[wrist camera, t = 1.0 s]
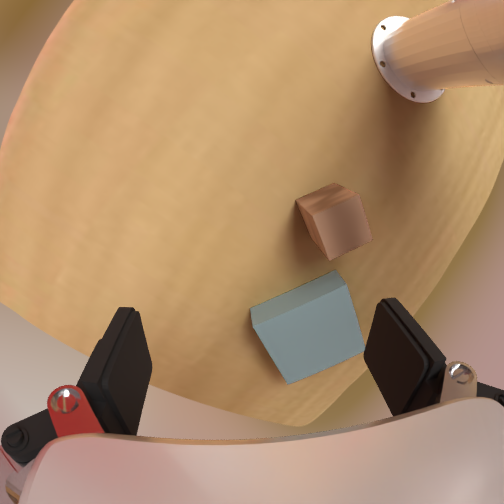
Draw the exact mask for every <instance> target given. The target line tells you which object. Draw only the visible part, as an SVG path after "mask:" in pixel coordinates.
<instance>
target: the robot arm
mask: <svg viewBox="0 0 504 504" xmlns="http://www.w3.org/2000/svg"><path fill="white" fill-rule="evenodd" d="M380 26H383V27H384V28H385V31H384V30H382V29H381V27H380ZM371 48H372V54H373V58H374V61H375V63H376V66H377V68H378V70H379V72H380V73H381V75H382V76H383V78H384V79H385V81H386V82H387V83H388V84H389V85H390V86H391V87H392V88H393V89H394V90H395V91H396V92H397V93H398V94H400V95H401V96H403V97H405V98H406V99H408V100H411V101H414V102H418V103H428V102H432V101H434V100H436V99H438V98H439V97H440V96H441V95H442V94H443V92H444V90H445V89H448V88H459V87H472V86H492V85H504V0H450V1H448V2H445V3H443V4H441V5H438V6H436V7H434V8H432V9H430V10H427V11H425V12H423V13H421V14H419V15H417V16H415V17H413V18H411V19H409V18H407V17H402V16H391V17H387V18H385V19H383V20H382V21H380V22H379V23H378V24H377V25H376V27H375V29H374V31H373V34H372V39H371ZM380 61H382V62H383V63H384V65H385V66H384V67H382V66H381V65H380ZM440 89H441V90H440ZM411 92H413V94H414V98H412V97H411ZM364 360H365V362H366V364H367V366H368V368H369V370H370V372H371V374H372V376H373V378H374V380H375V381H376V383H377V385H378V387H379V389H380V391H381V393H382V395H383V397H384V399H385V401H386V403H387V405H388V407H389V409H390V411H391V413H392V415H393V417H390V418H386V419H382V420H378V421H374V422H370V423H365V424H361V425H356V426H351V427H346V428H341V429H335V430H329V431H323V432H317V433H310V434H302V435H294V436H284V437H275V438H260V439H242V440H241V439H240V440H191V439H189V440H188V439H170V438H155V437H144V436H136V435H137V430H138V426H139V422H140V417H141V413H142V409H143V405H144V401H145V397H146V392H147V389H148V385H149V381H150V377H151V373H152V361H151V357H150V354H149V350H148V346H147V342H146V338H145V334H144V330H143V326H142V322H141V317H140V313H139V312H138V311H135V309H134V308H133V307H119V308H118V310H117V312H116V313H115V315H114V317H113V319H112V321H111V323H110V324H109V326H108V328H107V330H106V332H105V334H104V336H103V338H102V339H100V340H99V341H98V343H97V344H96V346H95V348H94V350H93V352H92V354H91V356H90V358H89V360H88V362H87V364H86V366H85V368H84V370H83V372H82V374H81V377H80V379H79V381H78V383H77V385H76V386H73V385H64V386H60V387H58V388H56V389H55V390H54V391H53V392H51V394H50V395H49V397H48V400H47V407H48V409H45V410H43V411H41V412H39V413H37V414H35V415H32V416H30V417H28V418H26V419H24V420H21V421H19V422H17V423H15V424H12V425H10V426H9V427H7V429H6V430H5V431H4V432H3V435H2V438H1V443H2V445H0V504H504V390H501V389H498V388H495V387H492V386H489V385H486V384H483V383H480V382H477V375H476V372H475V370H474V369H473V368H472V367H471V366H469V365H468V364H466V363H464V362H459V361H456V362H451V363H449V364H448V365H446V364H445V361H446V357H445V356H444V355H443V354H442V352H441V351H440V350H439V348H438V347H437V346H436V345H435V343H434V342H433V341H432V340H431V339H430V337H429V336H428V335H427V334H426V333H425V331H424V330H423V329H422V328H421V326H420V325H419V324H418V323H417V322H416V321H415V319H413V317H412V316H411V315H410V313H409V312H408V311H407V310H406V309H405V308H404V307H403V305H402V304H401V303H400V302H399V301H398V300H397V299H396V298H386V299H382V300H381V302H380V303H378V304H377V307H376V311H375V315H374V318H373V322H372V326H371V330H370V333H369V337H368V340H367V344H366V347H365V350H364Z"/></svg>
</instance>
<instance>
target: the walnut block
mask: <svg viewBox="0 0 504 504" xmlns="http://www.w3.org/2000/svg"><path fill="white" fill-rule="evenodd" d="M296 202H297V205H298V207H299V210H300V212H301V215H302V217H303V219H304V222H305V224H306V227H307V229H308V232H309V234H310V237H311V238H312V240H313V241H314V242H315V243H316V245H317V246H318V247H319V248H320V250H321V251H322V252H323V253H324V255H325V256H326V257H327V259H328V260H329V261H330V260H332V259H335V258H337V257H339V256H341V255H343V254H345V253H347V252H349V251H351V250H353V249H355V248H358V247H360V246H362V245H364V244H366V243H368V242H370V241H372V240H373V239H372V235H371V232H370V228H369V225H368V221H367V218H366V215H365V211H364V208H363V205H362V202H361V198H360V195H359V194H357V193H355V192H353V191H351V190H348V189H346V188H344V187H342V186H340V185H338V184H335V183H333V184H330V185H328V186H326V187H323V188H321V189H319V190H317V191H314V192H312V193H310V194H308V195H305V196H303V197H301V198H299V199H296Z"/></svg>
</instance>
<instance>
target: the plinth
mask: <svg viewBox="0 0 504 504" xmlns="http://www.w3.org/2000/svg"><path fill="white" fill-rule="evenodd" d="M250 312H251V319H252V325H253V328H254V330H255V331H256V333H257V335H258V336H259V338H260V340H261V341H262V343H263V345H264V346H265V348H266V350H267V351H268V353H269V355H270V356H271V358H272V360H273V361H274V363H275V365H276V366H277V368H278V369H279V371H280V373H281V374H282V376H283V378H284V379H285V381H286V382H287V384H291V383H294V382H296V381H299V380H301V379H304V378H306V377H308V376H311V375H313V374H316V373H318V372H320V371H323V370H325V369H327V368H329V367H332V366H334V365H336V364H338V363H340V362H343V361H345V360H347V359H349V358H351V357H353V356H355V355H357V354H359V353H361V352H363V351H364V350H365V344H364V341H363V337H362V334H361V330H360V326H359V323H358V320H357V316H356V313H355V309H354V306H353V303H352V300H351V296H350V293H349V290H348V287H347V284H346V283H345V281H344V280H343V279H342V277H341V276H340V275H339V274H338V272H337V271H336V270H334V271H332V272H330V273H327V274H325V275H323V276H321V277H319V278H317V279H315V280H313V281H310V282H308V283H306V284H304V285H302V286H299V287H297V288H295V289H293V290H291V291H288V292H286V293H284V294H282V295H279V296H277V297H275V298H273V299H270V300H268V301H266V302H263V303H261V304H259V305H257V306H254V307H252V308H250Z"/></svg>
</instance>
